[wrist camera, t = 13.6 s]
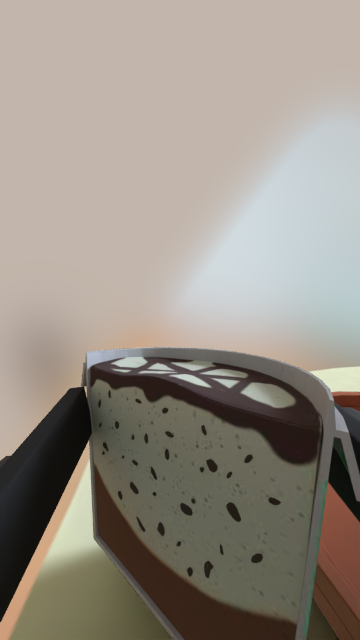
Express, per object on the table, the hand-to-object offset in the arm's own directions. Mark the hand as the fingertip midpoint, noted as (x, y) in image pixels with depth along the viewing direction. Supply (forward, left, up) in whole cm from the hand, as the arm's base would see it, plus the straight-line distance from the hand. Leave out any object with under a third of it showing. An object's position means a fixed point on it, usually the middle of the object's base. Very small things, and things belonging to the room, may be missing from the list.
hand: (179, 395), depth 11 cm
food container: (0, +3, -7) cm, 8 cm away
